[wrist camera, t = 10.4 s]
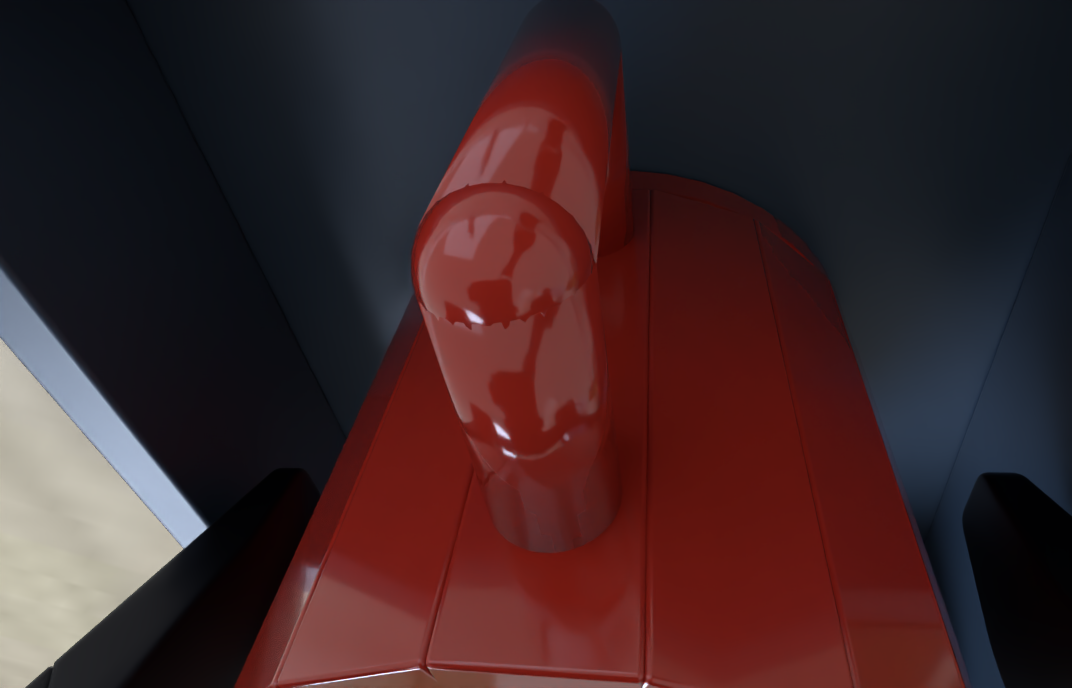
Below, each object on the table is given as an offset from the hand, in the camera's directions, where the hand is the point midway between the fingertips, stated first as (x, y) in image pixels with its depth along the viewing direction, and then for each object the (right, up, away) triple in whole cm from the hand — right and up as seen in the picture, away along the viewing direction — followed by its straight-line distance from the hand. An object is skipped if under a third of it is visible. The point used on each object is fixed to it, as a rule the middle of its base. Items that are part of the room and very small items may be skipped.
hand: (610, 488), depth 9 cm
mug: (0, +3, +1) cm, 3 cm away
